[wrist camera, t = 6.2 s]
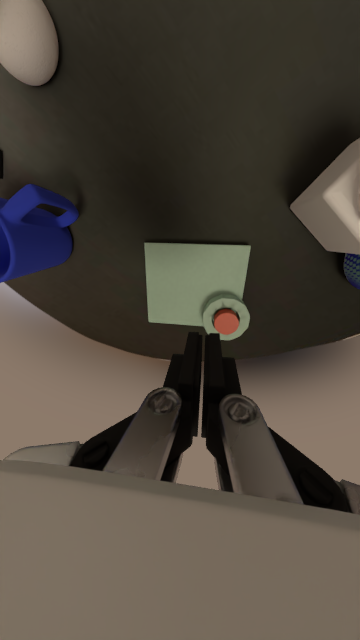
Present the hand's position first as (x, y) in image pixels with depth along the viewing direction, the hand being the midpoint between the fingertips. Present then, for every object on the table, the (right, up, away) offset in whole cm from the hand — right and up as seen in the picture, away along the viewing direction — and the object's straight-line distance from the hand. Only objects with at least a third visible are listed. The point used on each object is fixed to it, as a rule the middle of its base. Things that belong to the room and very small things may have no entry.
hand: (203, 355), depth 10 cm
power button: (+5, +2, +14) cm, 15 cm away
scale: (+1, +7, +15) cm, 17 cm away
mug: (-17, +14, +15) cm, 27 cm away
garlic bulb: (-16, +29, +8) cm, 34 cm away
